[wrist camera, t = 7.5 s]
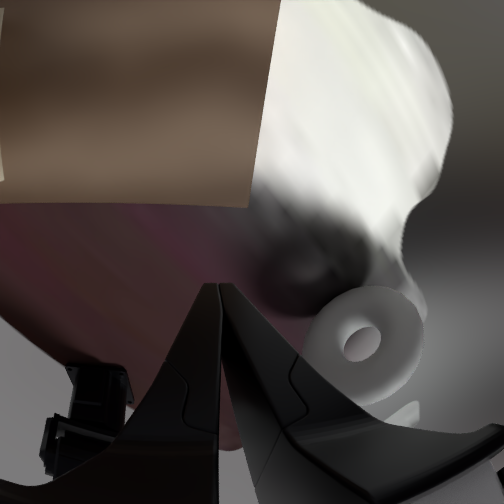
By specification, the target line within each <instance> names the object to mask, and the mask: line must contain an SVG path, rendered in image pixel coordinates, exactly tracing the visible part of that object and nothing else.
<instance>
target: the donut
mask: <svg viewBox="0 0 504 504" xmlns="http://www.w3.org/2000/svg"><path fill="white" fill-rule="evenodd" d="M368 326H370V327H375V328H377V329H378V330H379V331H380V333H381V342H380V345H379V347H378V349H377V350H376V351H375V353H374V354H372V355H371V356H370V357H369V358H367V359H365V360H363V361H359V362H352V361H348V360H347V359H346V358H345V357H344V353H343V349H344V345H345V342H346V341H347V339H348V338H349V337H350V335H351V334H353V333H354V332H355V331H356V330H358V329H361V328H363V327H368ZM423 348H424V330H423V322H422V320H421V318H420V315H419V313H418V311H417V309H416V307H415V306H414V304H413V303H411V302H410V301H409V300H408V299H407V298H406V297H405V296H404V295H403V294H402V293H400V292H397V291H395V290H392V289H390V288H388V287H384V286H369V285H368V286H363V287H359V288H354V289H351V290H349V291H347V292H345V293H343V294H341V295H339V296H337V297H335V298H334V299H333V300H332V301H330V302H329V303H328V304H327V305H325V306H324V307H323V308H322V309H321V310H320V312H319V313H318V314H317V316H316V317H315V318H314V319H313V321H312V322H311V324H310V327H309V329H308V331H307V333H306V335H305V338H304V345H303V351H302V357H303V358H304V359H305V360H306V361H307V362H308V363H309V364H310V365H311V366H312V367H313V368H314V369H315V370H316V371H317V372H318V373H319V374H320V375H321V376H323V377H324V378H325V379H326V380H327V381H328V382H330V383H331V384H332V385H333V386H334V387H335V388H337V389H338V390H339V391H341V392H342V393H343V394H344V395H346V396H347V397H348V398H349V399H351V400H352V401H353V402H354V403H356V404H357V405H358V406H359V405H370V404H372V403H375V402H377V401H380V400H382V399H385V398H387V397H389V396H391V395H392V394H393V393H394V392H396V391H397V390H398V389H399V388H401V387H402V386H403V385H404V384H405V383H406V382H407V381H408V379H409V378H410V376H411V375H412V374H413V372H414V371H415V369H416V368H417V366H418V364H419V361H420V357H421V354H422V351H423Z"/></svg>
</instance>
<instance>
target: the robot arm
mask: <svg viewBox="0 0 504 504" xmlns="http://www.w3.org/2000/svg"><path fill="white" fill-rule="evenodd" d="M221 359H222V364H223V369H224V373H225V377H226V381H227V386H228V390H229V394H230V398H231V402H232V406H233V410H234V414H235V418H236V422H237V426H238V430H239V434H240V438H241V441H242V445H243V449H244V452H245V456H246V460H247V463H248V467H249V471H250V474H251V478H252V481H253V484H254V487H255V492H256V495H257V499H258V502H259V504H504V467H503V468H502V469H500V470H499V471H498V472H496V471H495V469H494V467H493V465H492V463H491V461H490V459H491V458H493V457H494V456H495V455H497V454H498V453H499V452H501V451H502V450H503V449H504V425H500V424H495V423H491V424H488V425H486V426H484V427H483V428H481V429H479V430H477V431H474V432H471V433H462V434H456V433H444V432H436V431H428V430H422V429H415V428H409V427H403V426H397V425H392V424H388V423H385V422H383V421H380V420H378V419H377V418H375V417H373V416H372V415H370V414H369V413H367V412H366V411H365V410H363V409H362V408H361V407H360V406H358V405H357V404H356V403H354V402H353V401H352V400H351V399H349V398H348V397H347V396H346V395H344V394H343V393H342V392H341V391H339V390H338V389H337V388H335V387H334V386H333V385H332V384H331V383H330V382H328V381H327V380H326V379H325V378H324V377H323V376H321V375H320V374H319V373H318V372H317V371H316V370H315V369H314V368H313V367H312V366H311V365H310V364H309V363H308V362H307V361H306V360H305V359H304V358H303V357H302V356H301V355H299V353H298V352H297V351H296V350H295V349H294V348H293V347H292V346H291V344H290V343H289V342H288V341H287V340H286V339H285V338H284V337H283V336H282V335H281V334H280V333H279V332H278V331H277V330H276V329H275V328H274V327H273V326H272V324H271V323H270V322H269V321H268V320H267V319H266V318H265V317H264V316H263V315H262V314H261V313H260V312H259V311H258V309H257V308H256V307H255V306H254V305H253V304H252V303H251V302H250V301H249V300H248V299H247V298H246V297H245V295H244V294H243V293H242V292H241V291H240V290H239V289H238V288H237V287H236V286H235V285H234V284H233V283H220V284H219V285H218V284H217V283H204V284H203V286H202V287H201V289H200V291H199V293H198V295H197V297H196V299H195V301H194V303H193V305H192V307H191V309H190V311H189V313H188V315H187V317H186V319H185V321H184V323H183V325H182V327H181V329H180V331H179V333H178V335H177V337H176V339H175V341H174V343H173V345H172V347H171V349H170V351H169V353H168V355H167V357H166V359H165V361H164V362H163V364H162V366H161V368H160V370H159V372H158V374H157V376H156V378H155V380H154V382H153V383H152V385H151V387H150V388H149V390H148V392H147V393H146V395H145V396H144V398H143V399H142V401H141V402H140V404H139V405H138V407H137V408H136V409H135V411H134V412H133V414H132V415H131V417H130V418H129V419H128V421H127V422H126V424H125V411H126V404H134V396H133V393H132V389H131V385H130V382H129V378H128V374H127V371H126V370H125V369H124V368H115V367H102V366H91V365H80V364H71V363H67V364H66V367H65V369H66V371H67V374H68V376H69V378H70V380H71V382H72V384H73V391H72V397H71V402H70V407H69V413H68V418H66V417H63V416H60V415H59V414H57V413H54V418H53V417H52V418H47V420H46V425H45V430H44V435H43V439H42V444H41V448H40V453H39V456H40V458H41V460H42V461H43V462H44V467H46V468H45V474H46V475H49V476H53V481H50V482H48V483H46V484H42V485H38V486H24V485H19V484H15V483H12V482H9V481H6V480H2V479H0V504H219V473H218V472H219V469H218V468H219V465H218V464H219V459H218V458H219V414H220V384H221ZM56 437H58V439H57V438H56Z"/></svg>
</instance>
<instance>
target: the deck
mask: <svg viewBox="0 0 504 504" xmlns="http://www.w3.org/2000/svg"><path fill="white" fill-rule="evenodd" d="M280 2H281V0H0V8H4V14H3V21H2V29H1V39H0V148H1V158H2V166H3V174H4V180H3V181H1V182H0V204H1V203H146V204H178V205H203V206H224V207H242V208H248V204H249V198H250V191H251V184H252V178H253V171H254V165H255V158H256V152H257V145H258V139H259V132H260V126H261V120H262V113H263V107H264V101H265V94H266V88H267V82H268V75H269V69H270V63H271V57H272V51H273V45H274V38H275V32H276V26H277V20H278V14H279V8H280Z"/></svg>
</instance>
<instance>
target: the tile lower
mask: <svg viewBox="0 0 504 504" xmlns="http://www.w3.org/2000/svg"><path fill="white" fill-rule="evenodd" d="M3 14H4V8H0V39H1V29H2V21H3ZM3 180H4V174H3V166H2V158H1V148H0V182H1V181H3Z"/></svg>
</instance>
